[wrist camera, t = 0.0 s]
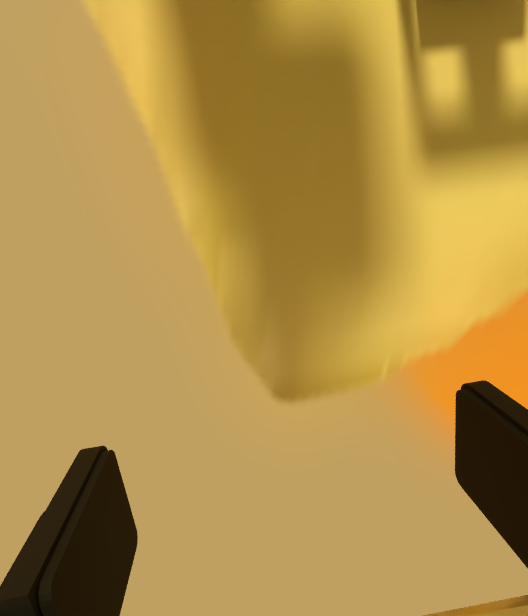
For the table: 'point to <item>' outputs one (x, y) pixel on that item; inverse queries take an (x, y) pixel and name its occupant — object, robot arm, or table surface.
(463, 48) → the table surface
